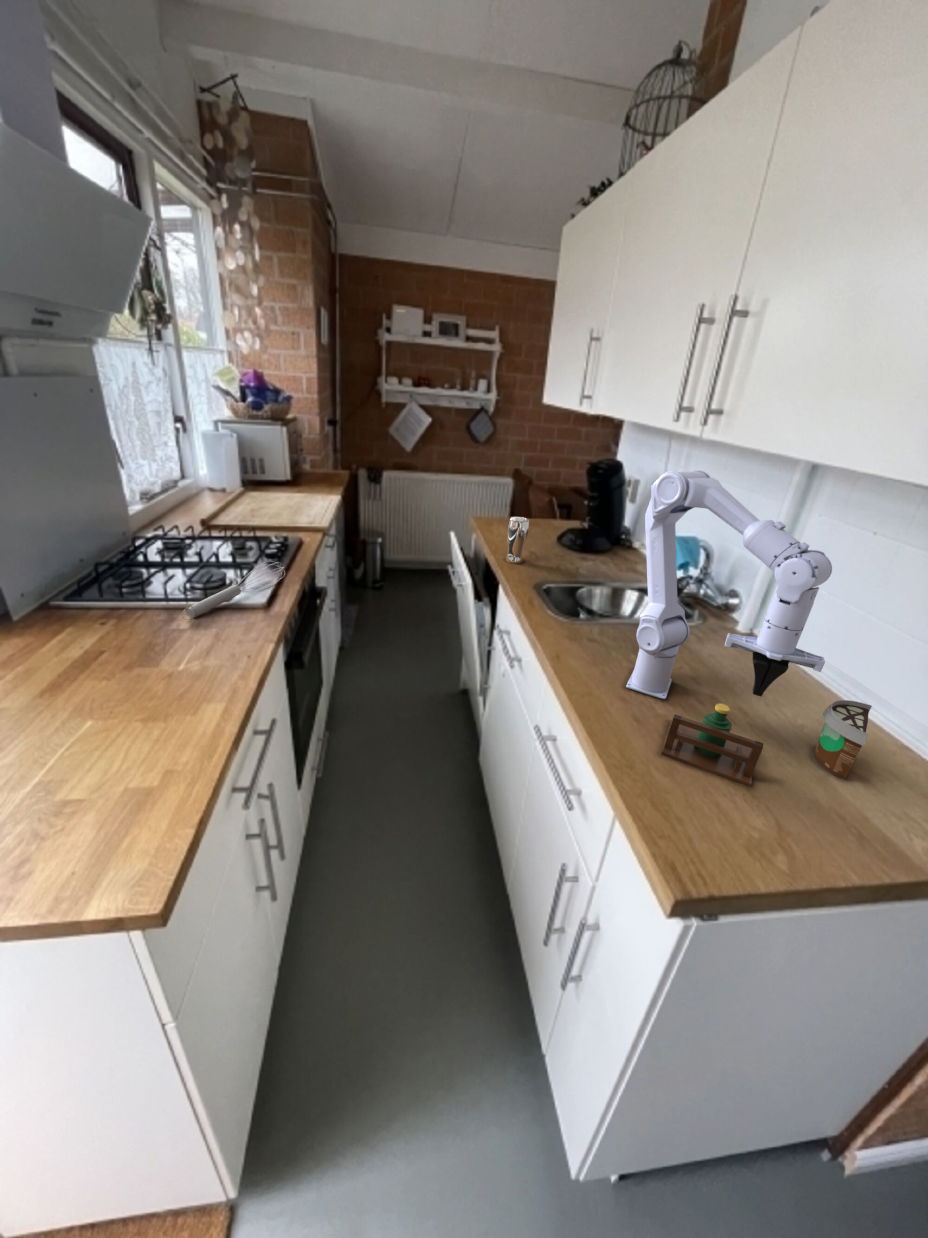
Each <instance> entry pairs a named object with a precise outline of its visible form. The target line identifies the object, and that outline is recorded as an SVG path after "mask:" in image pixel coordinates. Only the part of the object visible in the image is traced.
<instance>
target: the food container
mask: <svg viewBox="0 0 928 1238" xmlns="http://www.w3.org/2000/svg"><path fill="white" fill-rule="evenodd" d="M872 707H873V705H871V704H868V703H864V702H861V701H856V700H848V699H842V700H841V699H840V700H836V701H834V702H832V703H831V704H829V705H828V706H827V708H826V709H825V710H824V711H823V713H822V718H823V720H824V723H823V725H822V729H821V732H820V735H819V738H818V740H817V743H816V746H815V749H814V752H813V757H814V759H815V761H816V762H817V764H819V766H821V767H822V768H823V769H824V770H826V772H828V773H830V774H832V775H833V776H835V777H837V778H839V779H840V780H841V779H842V780H845V779H846V778H847V776H848V774H849V773H850V770H851V769H852V766H853V764H854V763H855V761H856V759H857V757H858V755H859V753H860V752H861V749H862V748H863V746H864V745H865V743H866V741H867V738H868V736H869V733H868V732H867V728H868V723H869V715H870V711H871V709H872Z"/></svg>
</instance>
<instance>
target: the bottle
mask: <svg viewBox="0 0 928 1238" xmlns="http://www.w3.org/2000/svg"><path fill="white" fill-rule="evenodd" d="M730 711H731V708H730V707H729V706H727V705H726V704H724V703H716V704H715V706H714V711H713V712H711V713H707V714H704V716H703V719H702V721H701V723H702V724H705V725H708V726H711V727H715V728H718V729H721V730H724V731H727V732H730V733H731V730H732V728H733V724H732V722H731V721H730V720H729V719H728V718H727V717H728V714H730ZM697 738H698V739H701V740H704V741H707V742H710V743H713V744H716V745H719V746H722V747H724V746H725V744H726V741H727V740H725V739H722V738H719V737H716V736H713V735H710V734H707V733H704V732H701V731H699V733H698V736H697ZM695 748H696V749H697V750H698V751H699V752H700V753H701V754H703V755H705V756H708V757H713V758H716V757H720V756H721V754H718V753H715V752H712V751H709V750H706V749H703V748H701V747H698V746H695Z"/></svg>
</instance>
